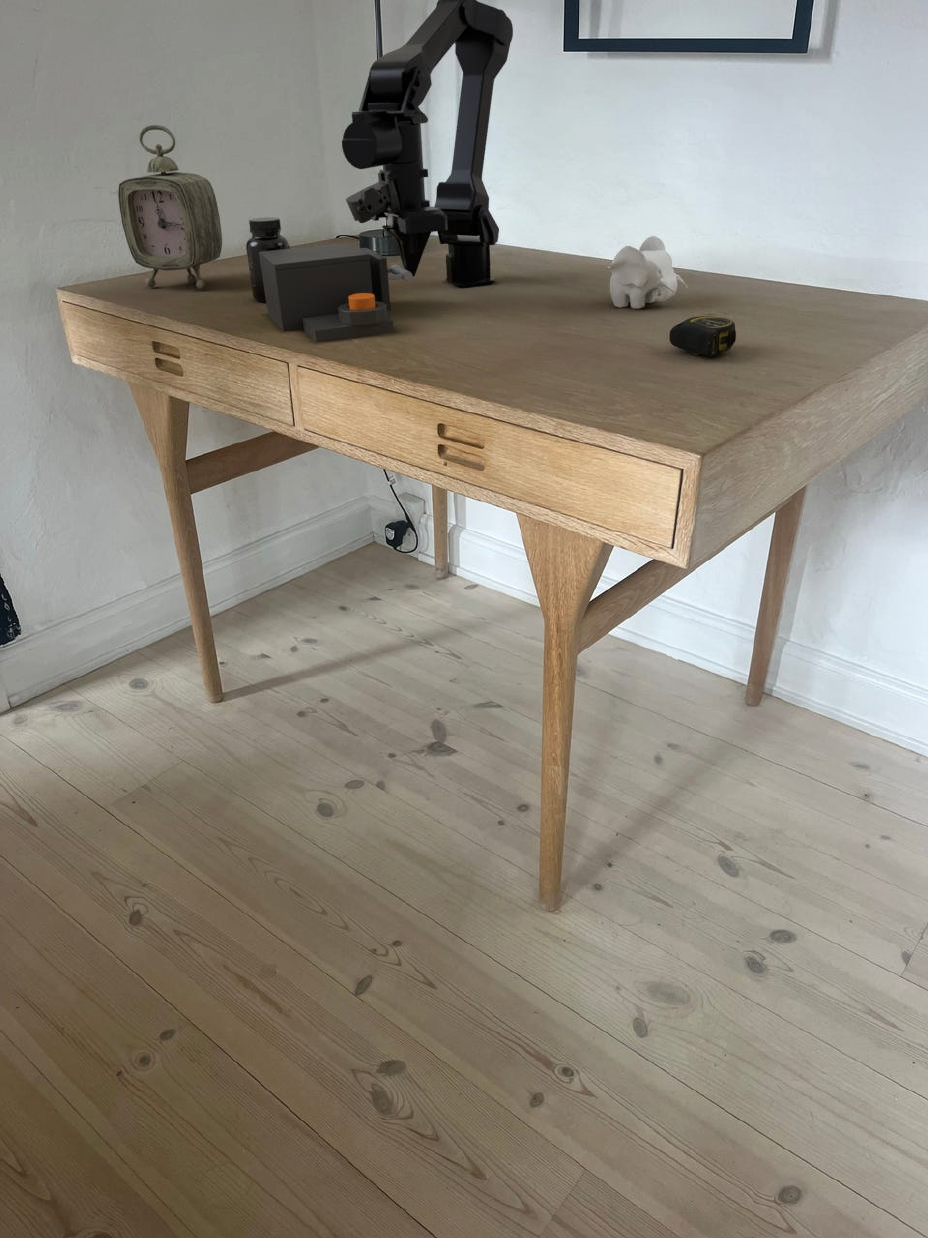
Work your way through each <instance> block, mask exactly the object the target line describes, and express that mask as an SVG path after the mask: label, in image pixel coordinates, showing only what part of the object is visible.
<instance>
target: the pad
mask: <svg viewBox="0 0 928 1238" xmlns="http://www.w3.org/2000/svg"><path fill="white" fill-rule="evenodd" d="M338 312H339V313H338V314H330V315H323V316H315V317H307V318H302V321H303V329H302V330H303V331H304V332H305V333H306V334H307V335H308V336H309V337H310V338H311V339H312V340H313V341H315V343H324V342H331V341H338V340H344V339H345V340H346V339H352V338H360V337H366V336H374V335H375V336H376V335H380V334H389V333H394V320H393V319H392V318H391V317H389V316H388V311H387V305H386V304H385V303H383V302H377V301H375V308H372V309H365V310H352V309H349V303H347V304H343V305H341V306H340V307H339V308H338Z"/></svg>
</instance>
